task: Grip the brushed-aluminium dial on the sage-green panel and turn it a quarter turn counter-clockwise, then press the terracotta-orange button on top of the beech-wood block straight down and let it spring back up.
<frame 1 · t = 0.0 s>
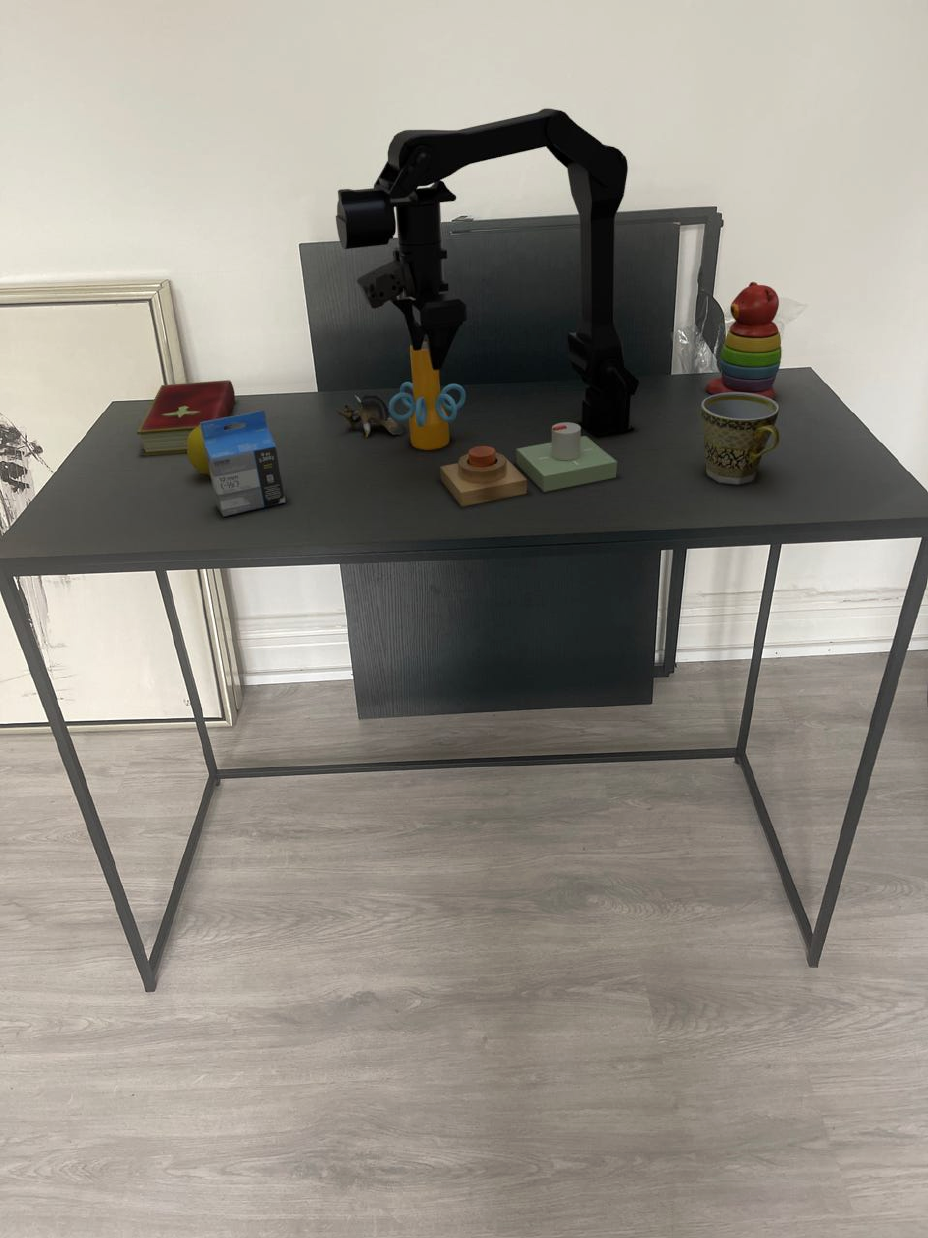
hand: (426, 359, 127), 15 cm above the table, tool pointing down, fingers open, 9 cm apart
ceramic cup: (737, 479, 125), on the table
stacking bear: (743, 397, 150), on the table
label tape box: (251, 506, 125), on the table
animal figurine: (373, 433, 145), on the table
top button: (482, 456, 124), point 5 cm above the table, slide at 0.2 cm
dial panel: (565, 471, 129), on the table
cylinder: (430, 443, 140), on the table, touching gripper
lemon: (212, 477, 133), on the table
dial: (566, 440, 127), point 5 cm above the table, hinge at 0.0°
hardcover book: (192, 428, 150), on the table
button block: (483, 487, 126), on the table
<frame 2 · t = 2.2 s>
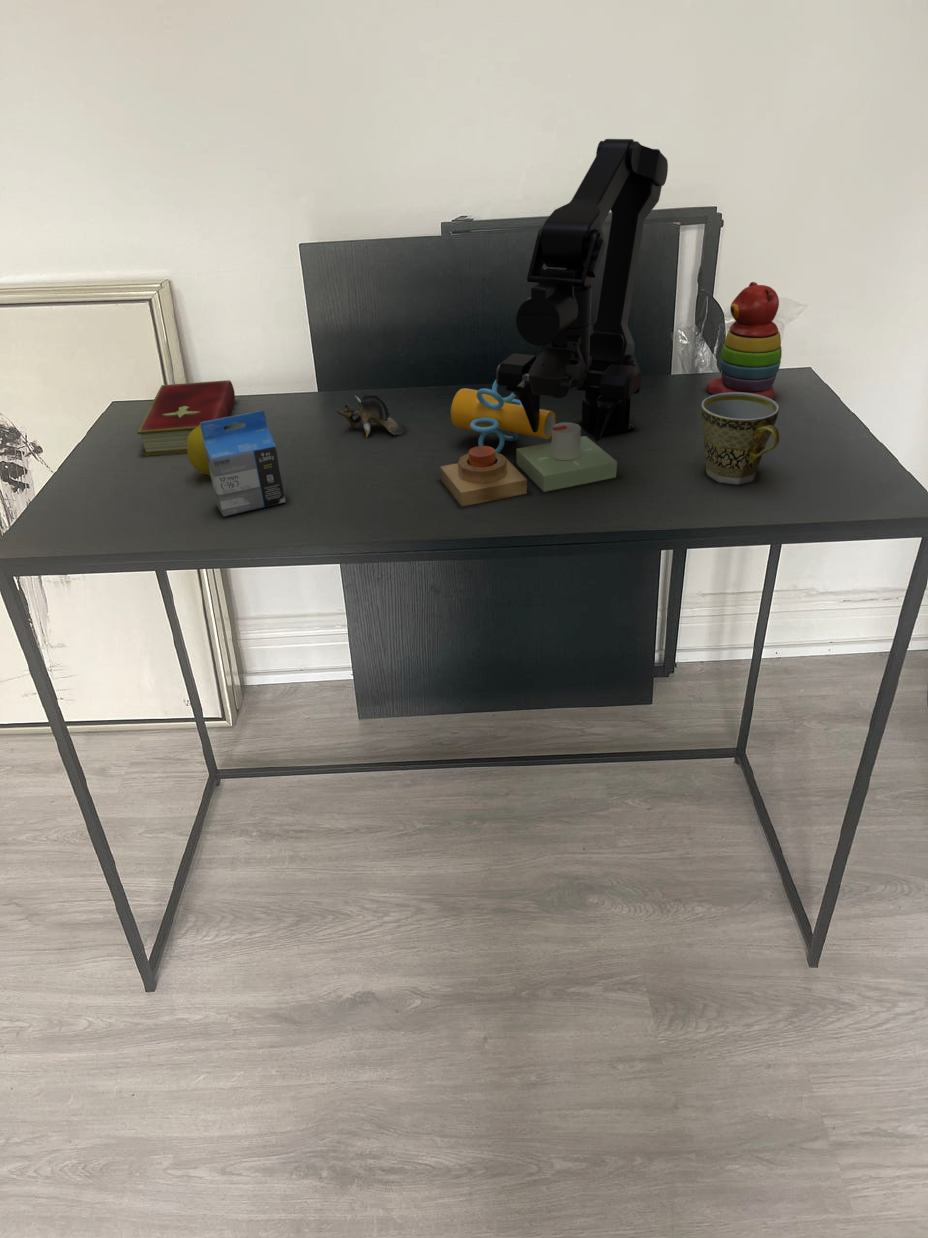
hand: (566, 435, 126), 5 cm above the table, tool pointing down, fingers open, 9 cm apart
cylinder: (459, 408, 137), point 5 cm above the table
everything else where it was.
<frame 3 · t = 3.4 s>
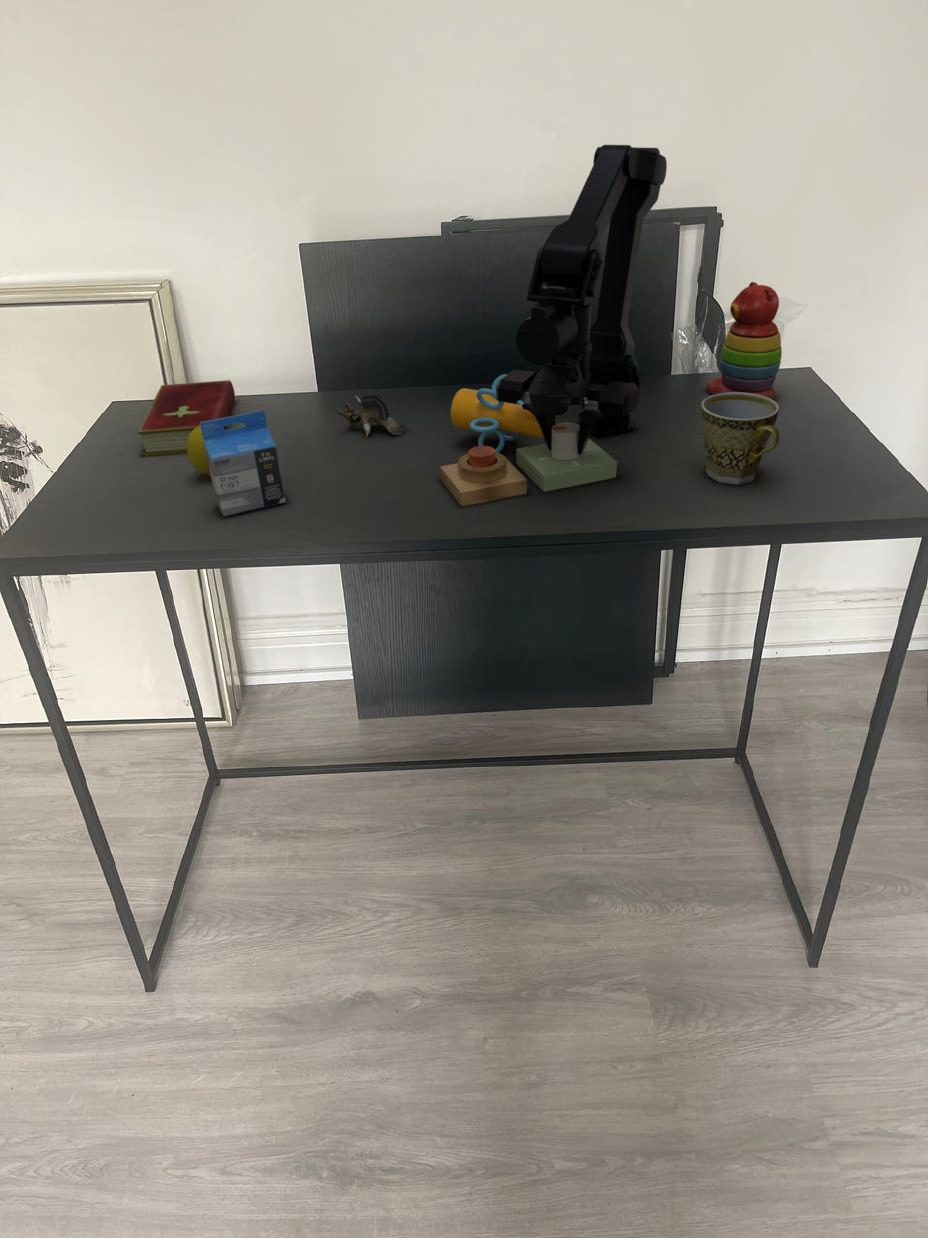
hand: (565, 451, 128), 3 cm above the table, tool pointing down, fingers closed on dial, 4 cm apart
dial: (566, 440, 127), point 5 cm above the table, hinge at 0.0°, touching gripper
everything else where it was.
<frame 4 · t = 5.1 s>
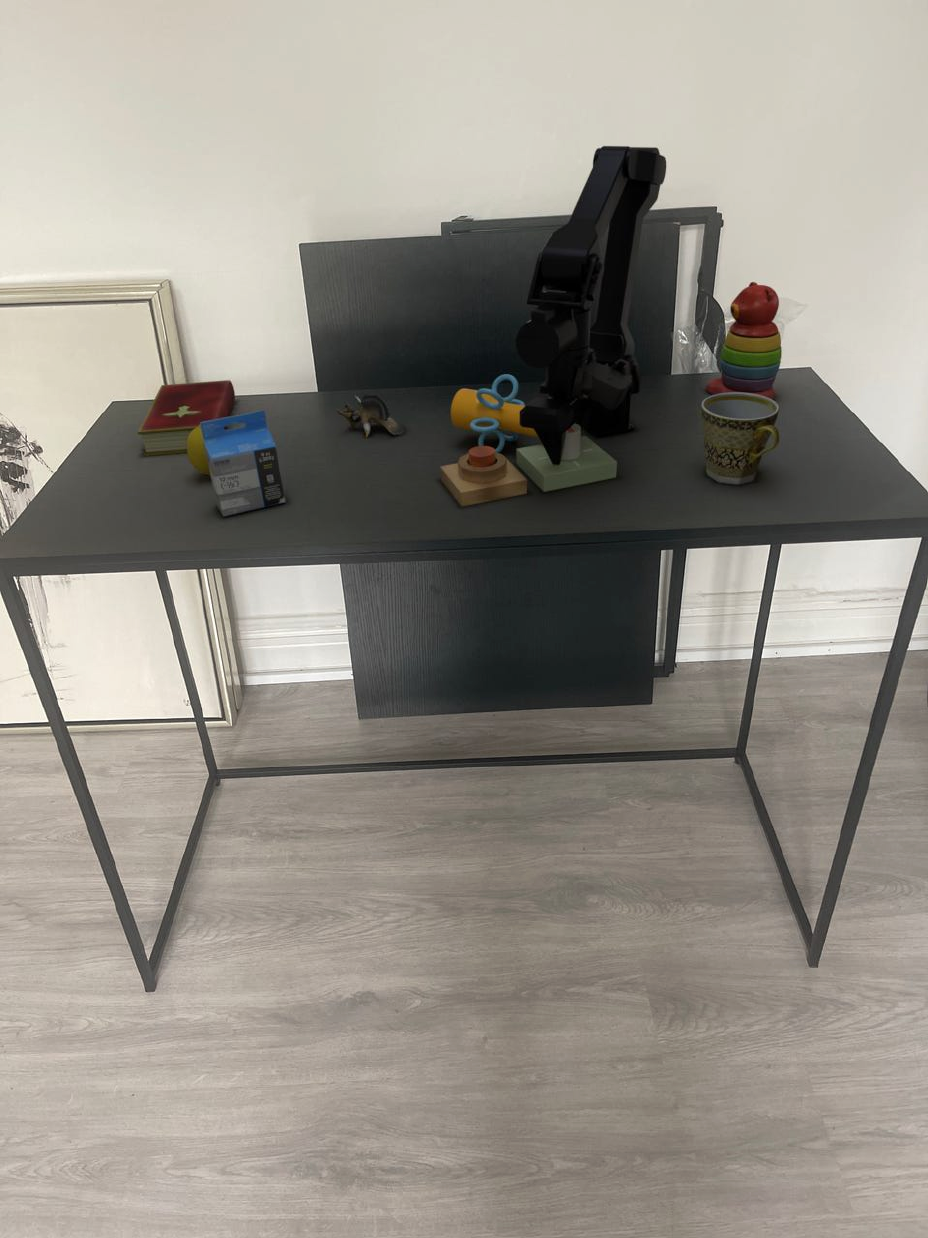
hand: (565, 455, 128), 3 cm above the table, tool pointing down, fingers open, 6 cm apart
dial: (566, 440, 127), point 5 cm above the table, hinge at 89.4°
everything else where it was.
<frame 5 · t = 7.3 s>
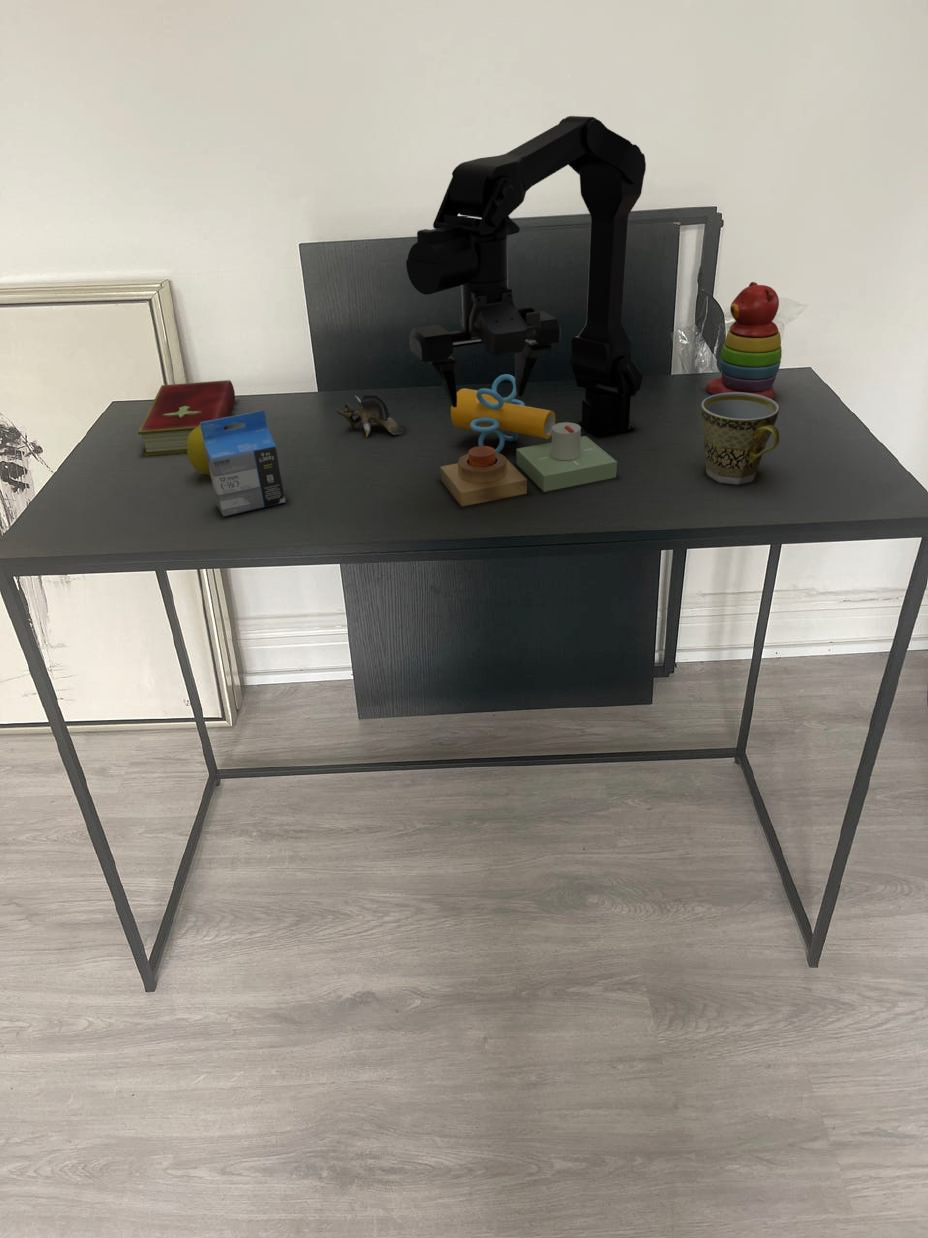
hand: (487, 400, 119), 12 cm above the table, tool pointing down, fingers open, 9 cm apart
nothing on the table moved.
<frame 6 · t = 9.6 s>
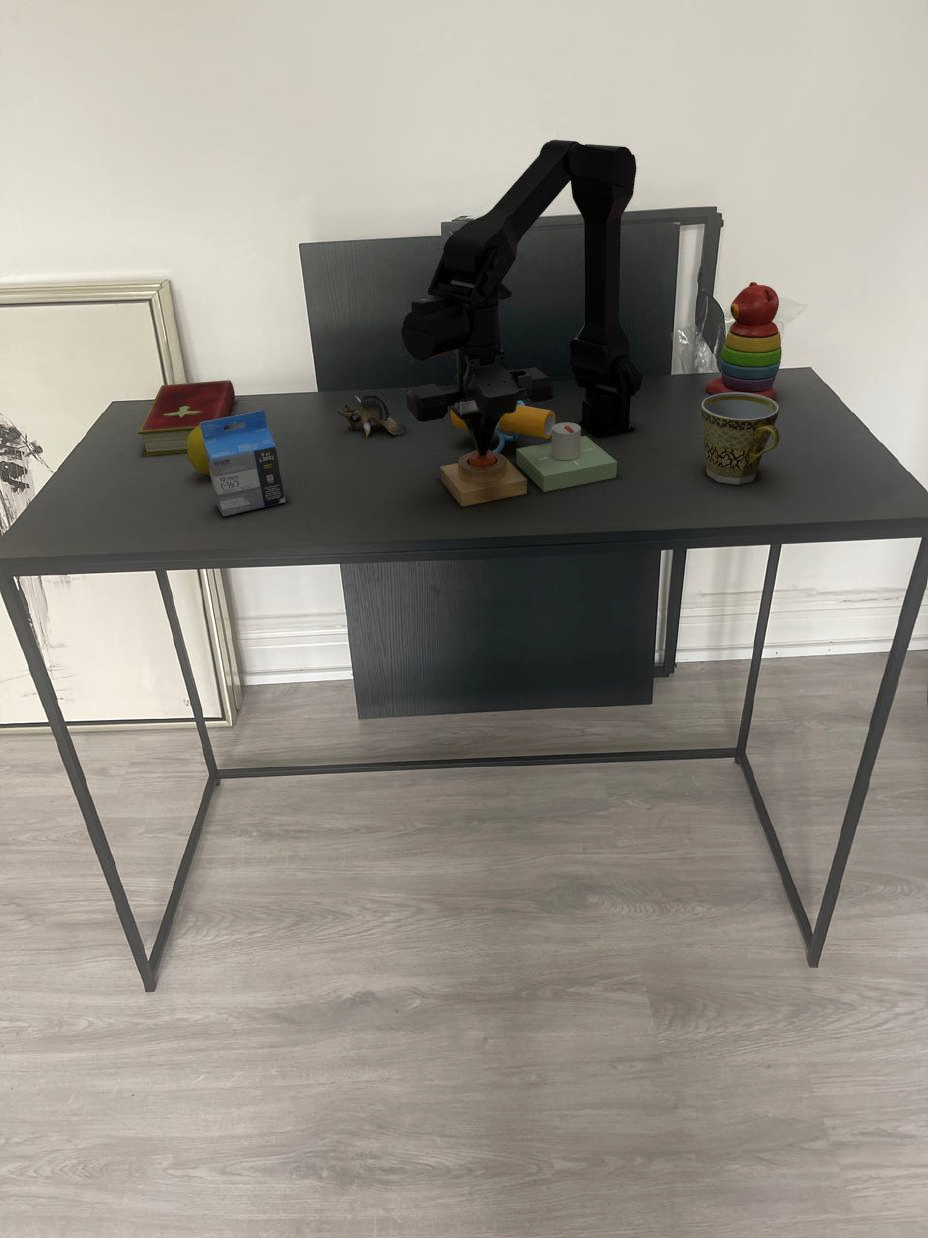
hand: (482, 454, 124), 5 cm above the table, tool pointing down, fingers closed, pressing on top button
top button: (482, 460, 124), point 4 cm above the table, slide at -0.4 cm, touching gripper
everything else where it was.
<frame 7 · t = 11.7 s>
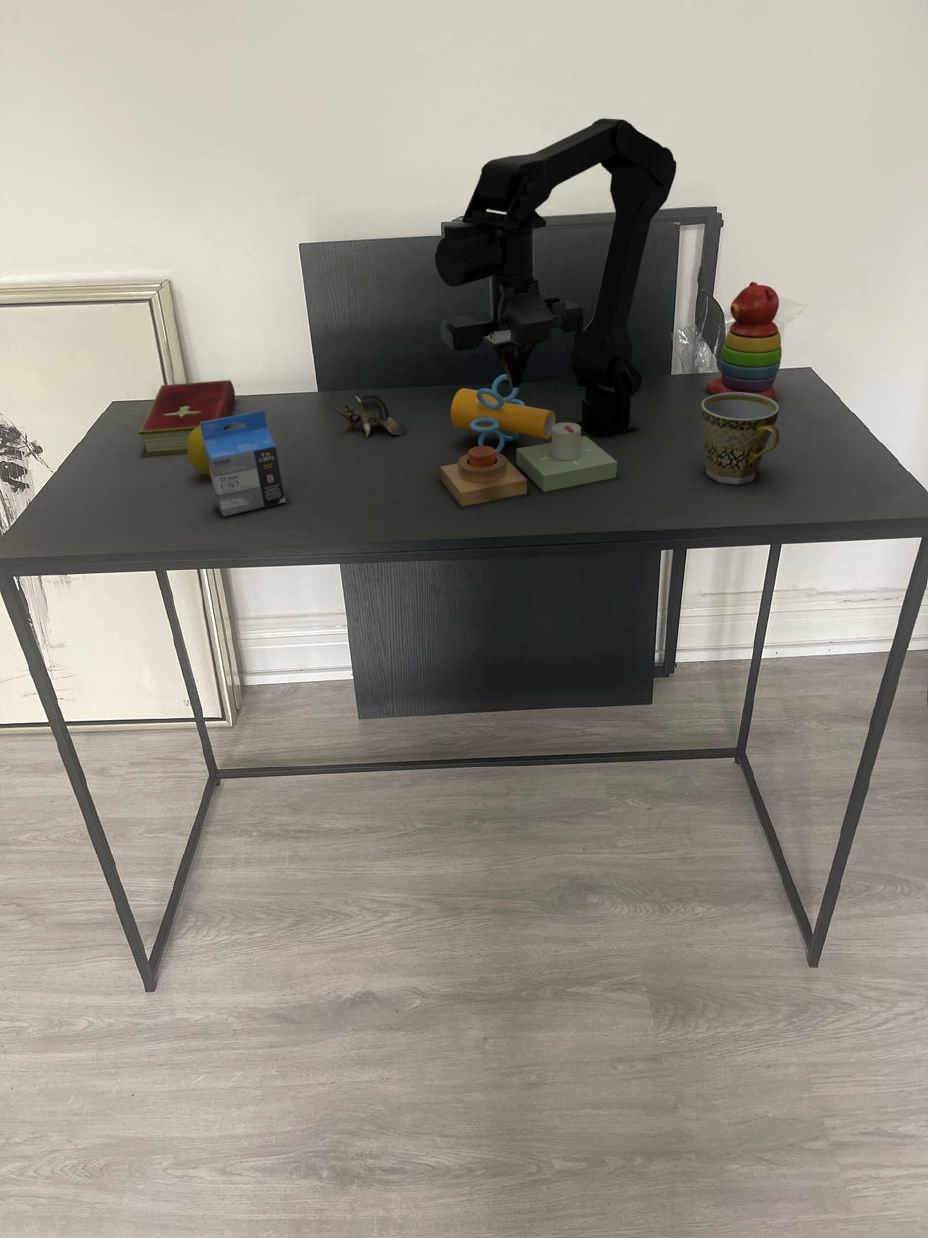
hand: (514, 386, 125), 12 cm above the table, tool pointing down, fingers closed
top button: (482, 456, 124), point 5 cm above the table, slide at 0.2 cm
everything else where it was.
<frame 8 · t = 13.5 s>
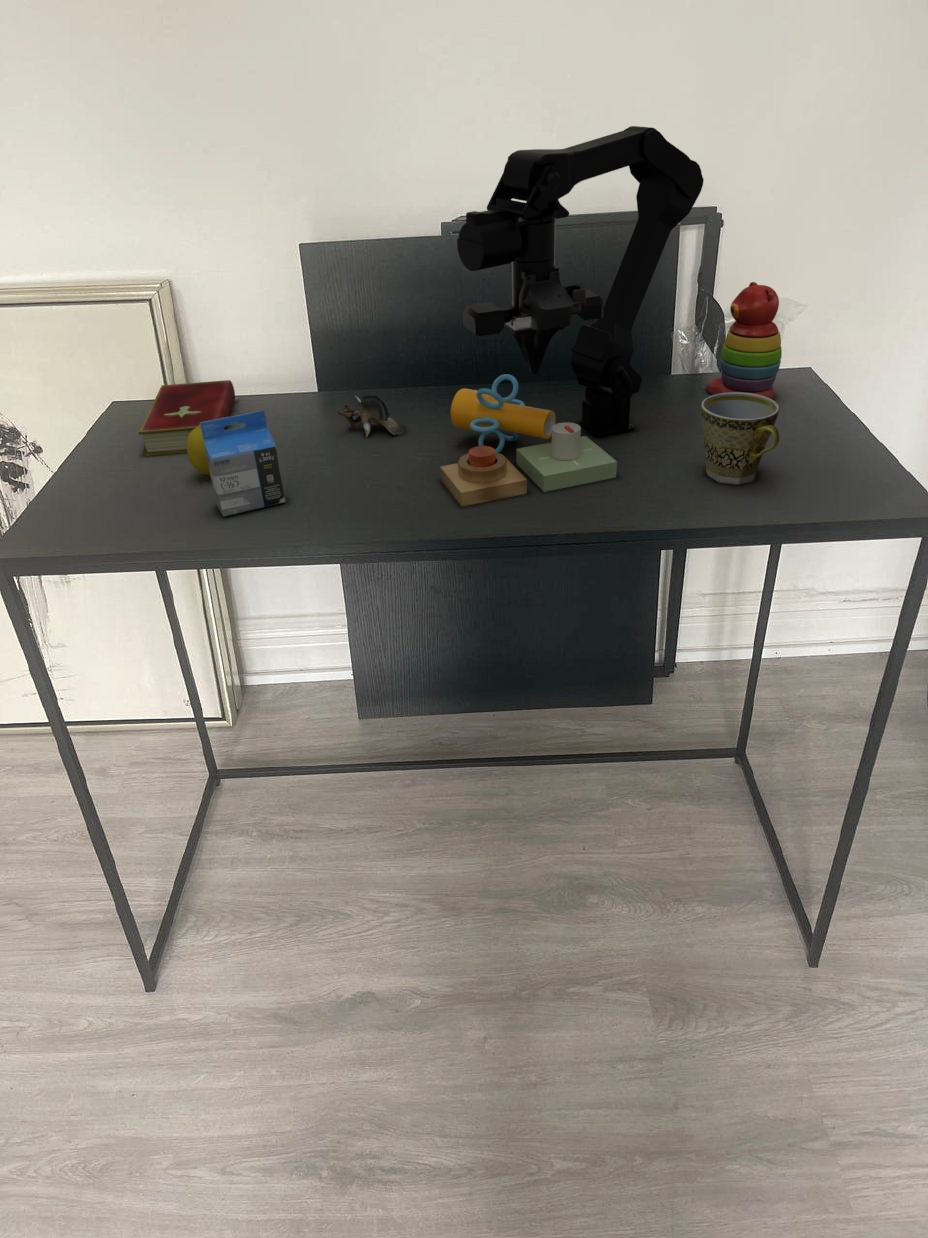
hand: (533, 373, 129), 12 cm above the table, tool pointing down, fingers closed
nothing on the table moved.
at the end: dial at +89° (first picture: +0°); top button pushed in 1.1 cm at the most during the clip, back to 0.2 cm at the end; top button slide at 0.2 cm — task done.
